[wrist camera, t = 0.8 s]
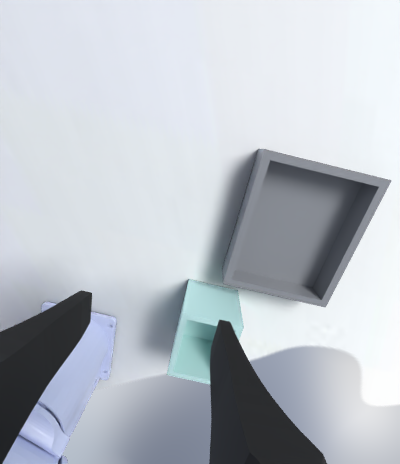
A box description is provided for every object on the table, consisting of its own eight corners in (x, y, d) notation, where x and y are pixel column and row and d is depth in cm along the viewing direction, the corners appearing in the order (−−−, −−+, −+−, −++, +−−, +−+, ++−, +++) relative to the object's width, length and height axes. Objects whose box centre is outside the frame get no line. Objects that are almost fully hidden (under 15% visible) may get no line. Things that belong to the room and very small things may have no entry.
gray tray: (368, 176, 18) (391, 180, 16) (313, 290, 22) (325, 307, 20) (258, 149, 18) (264, 149, 16) (222, 269, 22) (223, 283, 20)
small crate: (237, 290, 23) (243, 327, 18) (219, 342, 25) (221, 386, 21) (188, 279, 23) (182, 313, 18) (175, 332, 25) (166, 374, 20)
